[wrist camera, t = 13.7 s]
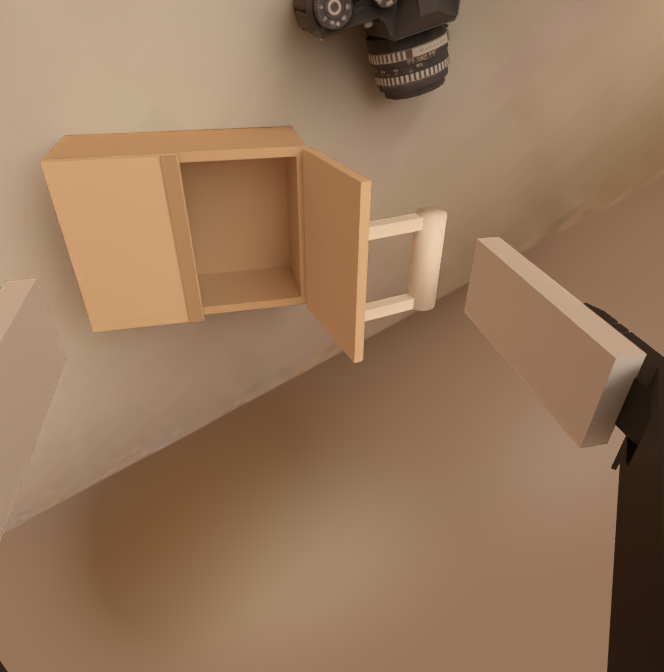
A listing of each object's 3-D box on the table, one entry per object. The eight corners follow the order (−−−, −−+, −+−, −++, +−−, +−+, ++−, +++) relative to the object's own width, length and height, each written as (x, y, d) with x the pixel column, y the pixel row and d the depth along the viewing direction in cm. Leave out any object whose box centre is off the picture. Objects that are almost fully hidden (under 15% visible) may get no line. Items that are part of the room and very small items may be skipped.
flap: (362, 183, 33) (460, 168, 36) (302, 148, 41) (387, 138, 44) (355, 364, 41) (435, 340, 44) (306, 307, 49) (377, 290, 52)
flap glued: (42, 159, 38) (39, 163, 37) (177, 152, 39) (177, 156, 38) (94, 327, 46) (92, 333, 45) (204, 315, 48) (204, 321, 47)
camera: (322, 114, 48) (348, 137, 40) (283, -20, 41) (304, -25, 33) (462, 60, 48) (516, 72, 40) (444, -82, 41) (503, -101, 33)
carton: (65, 135, 44) (43, 158, 38) (291, 126, 48) (305, 145, 41) (107, 286, 52) (95, 326, 46) (296, 268, 56) (309, 303, 50)
